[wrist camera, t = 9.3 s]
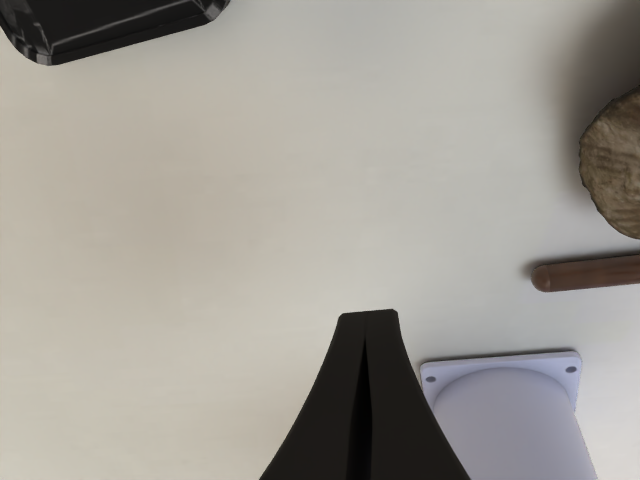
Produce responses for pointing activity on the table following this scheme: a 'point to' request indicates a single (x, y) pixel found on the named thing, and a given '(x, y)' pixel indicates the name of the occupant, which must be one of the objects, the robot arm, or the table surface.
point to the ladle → (587, 274)
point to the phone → (96, 24)
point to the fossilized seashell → (614, 163)
